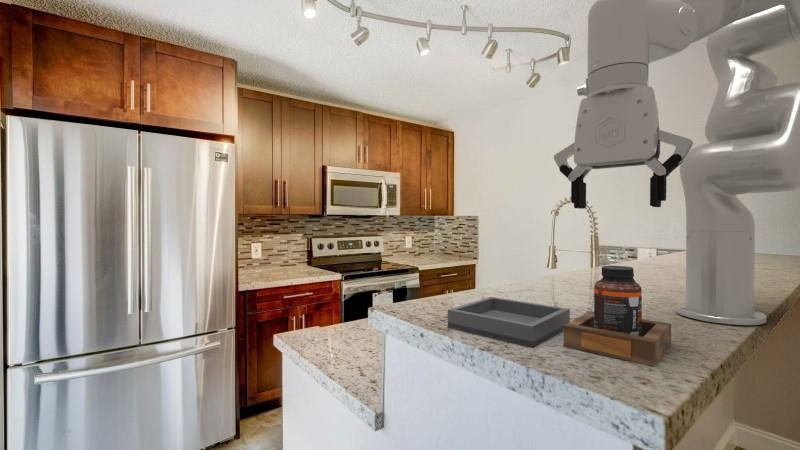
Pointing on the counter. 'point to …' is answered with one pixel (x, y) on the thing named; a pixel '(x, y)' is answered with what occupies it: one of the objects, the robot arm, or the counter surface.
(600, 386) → the counter surface
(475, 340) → the counter surface
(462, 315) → the tray
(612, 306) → the supplement bottle
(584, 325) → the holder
